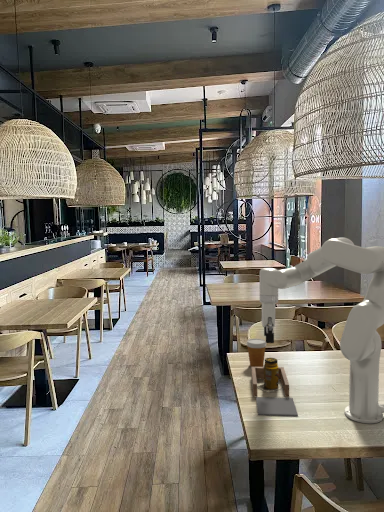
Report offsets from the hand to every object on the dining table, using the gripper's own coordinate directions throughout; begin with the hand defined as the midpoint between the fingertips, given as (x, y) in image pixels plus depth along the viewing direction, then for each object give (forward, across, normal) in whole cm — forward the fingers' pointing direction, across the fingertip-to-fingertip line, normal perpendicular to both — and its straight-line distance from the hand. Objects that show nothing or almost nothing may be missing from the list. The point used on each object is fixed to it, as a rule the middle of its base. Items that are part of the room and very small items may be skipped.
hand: (268, 339), depth 171 cm
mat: (+20, +18, +1) cm, 27 cm away
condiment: (+21, 0, 0) cm, 21 cm away
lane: (+20, 0, 0) cm, 21 cm away
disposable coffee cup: (+21, -26, -4) cm, 33 cm away
